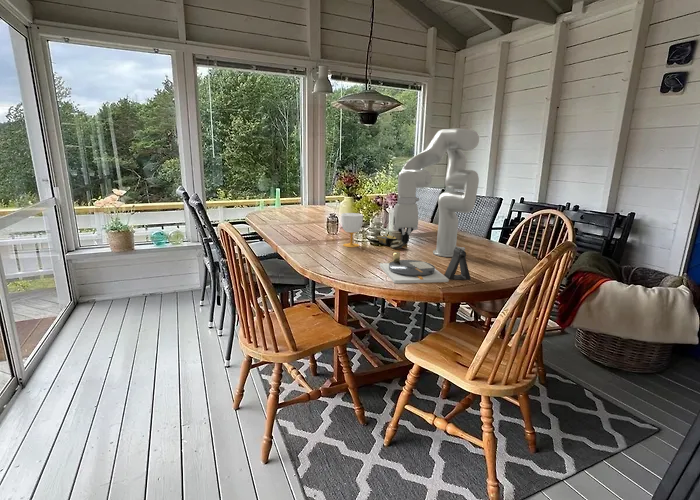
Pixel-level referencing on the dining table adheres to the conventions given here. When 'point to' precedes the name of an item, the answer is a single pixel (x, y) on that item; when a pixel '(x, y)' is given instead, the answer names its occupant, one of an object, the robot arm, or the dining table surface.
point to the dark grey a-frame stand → (457, 259)
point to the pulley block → (390, 241)
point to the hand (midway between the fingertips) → (404, 243)
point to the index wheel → (410, 267)
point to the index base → (413, 279)
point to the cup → (351, 225)
